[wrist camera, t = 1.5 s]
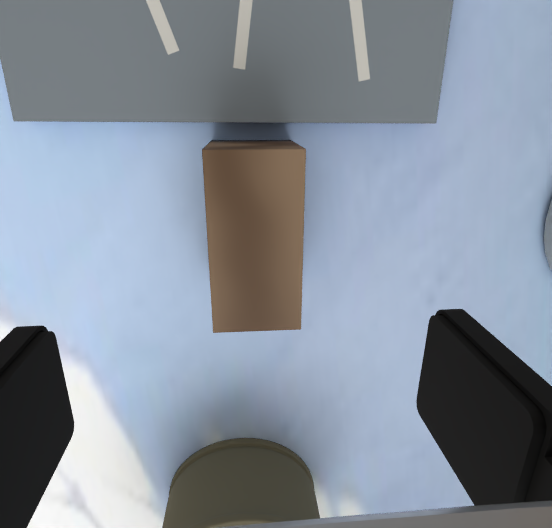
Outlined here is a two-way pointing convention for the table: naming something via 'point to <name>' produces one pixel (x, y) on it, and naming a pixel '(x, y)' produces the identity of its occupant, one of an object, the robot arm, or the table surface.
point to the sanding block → (255, 233)
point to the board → (224, 60)
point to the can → (240, 486)
